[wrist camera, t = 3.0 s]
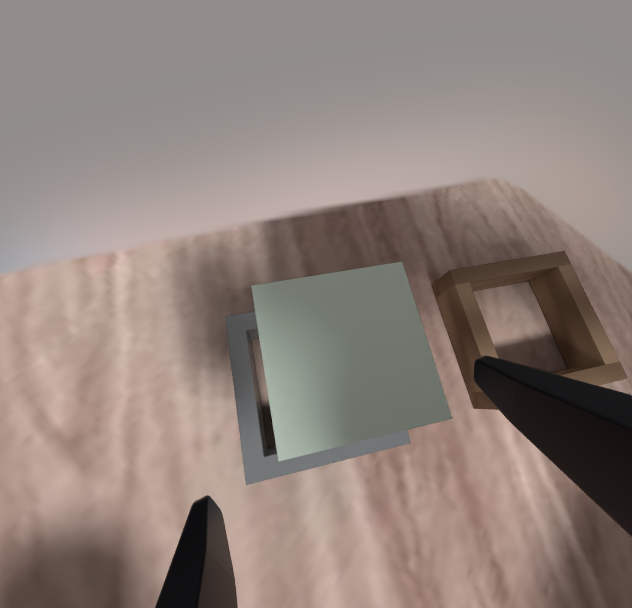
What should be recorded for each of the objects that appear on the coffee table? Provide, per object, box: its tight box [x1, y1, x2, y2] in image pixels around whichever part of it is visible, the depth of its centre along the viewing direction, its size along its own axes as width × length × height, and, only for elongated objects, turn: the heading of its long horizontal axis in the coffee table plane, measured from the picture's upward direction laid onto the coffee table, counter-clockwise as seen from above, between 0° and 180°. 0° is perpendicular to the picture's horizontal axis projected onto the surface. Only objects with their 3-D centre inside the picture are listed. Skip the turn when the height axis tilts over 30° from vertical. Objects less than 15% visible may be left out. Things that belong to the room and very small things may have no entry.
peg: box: [251, 262, 452, 461], centre depth 13 cm, size 4×4×12 cm
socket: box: [225, 312, 411, 485], centre depth 17 cm, size 8×8×2 cm
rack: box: [432, 251, 627, 410], centre depth 19 cm, size 8×8×2 cm
